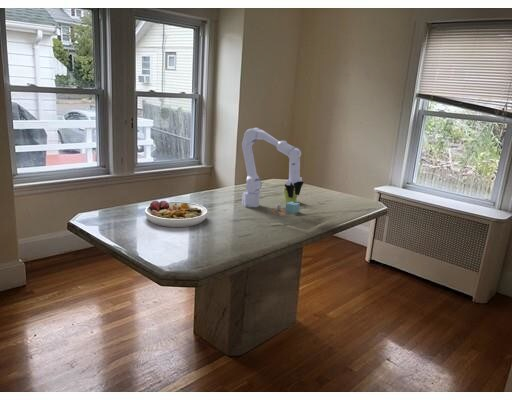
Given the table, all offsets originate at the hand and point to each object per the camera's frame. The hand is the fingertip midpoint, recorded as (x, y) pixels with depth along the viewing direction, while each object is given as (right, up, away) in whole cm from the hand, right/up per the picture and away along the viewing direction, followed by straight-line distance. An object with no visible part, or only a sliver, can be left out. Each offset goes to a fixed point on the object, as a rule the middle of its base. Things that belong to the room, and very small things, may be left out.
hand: (294, 196), depth 229 cm
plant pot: (0, -5, +22) cm, 23 cm away
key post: (-9, -8, +4) cm, 12 cm away
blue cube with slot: (-1, -9, +2) cm, 9 cm away
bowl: (-60, -12, -19) cm, 64 cm away
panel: (-4, -9, +3) cm, 11 cm away
